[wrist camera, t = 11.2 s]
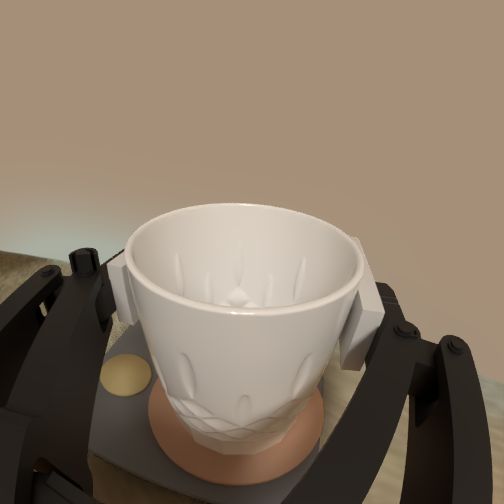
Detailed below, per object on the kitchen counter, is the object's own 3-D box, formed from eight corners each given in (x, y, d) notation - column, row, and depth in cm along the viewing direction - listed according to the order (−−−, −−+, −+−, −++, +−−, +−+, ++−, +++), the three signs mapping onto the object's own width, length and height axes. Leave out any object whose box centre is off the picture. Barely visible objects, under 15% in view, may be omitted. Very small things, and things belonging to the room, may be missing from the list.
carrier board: (57, 430, 11) (45, 415, 10) (140, 325, 21) (136, 308, 21) (305, 517, 8) (314, 512, 7) (320, 364, 19) (326, 348, 18)
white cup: (199, 488, 9) (151, 356, 4) (149, 374, 15) (116, 215, 10) (334, 424, 12) (410, 266, 8) (261, 340, 18) (277, 197, 14)
